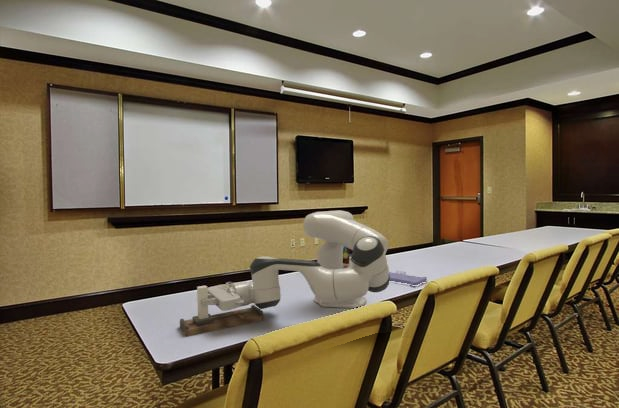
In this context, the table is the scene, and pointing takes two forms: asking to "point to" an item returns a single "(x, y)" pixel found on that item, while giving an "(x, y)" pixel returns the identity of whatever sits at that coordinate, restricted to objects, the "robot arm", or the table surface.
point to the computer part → (406, 278)
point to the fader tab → (202, 307)
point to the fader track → (223, 321)
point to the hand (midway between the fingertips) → (200, 301)
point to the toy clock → (346, 256)
